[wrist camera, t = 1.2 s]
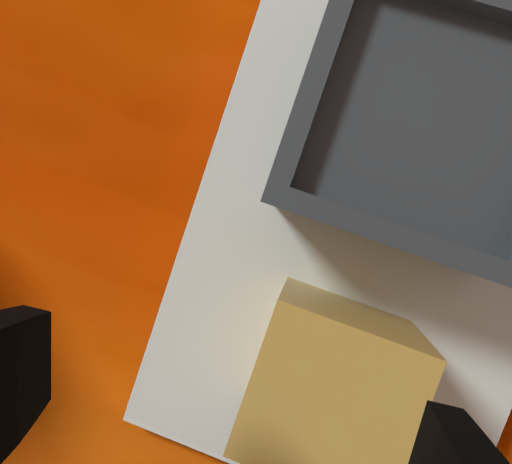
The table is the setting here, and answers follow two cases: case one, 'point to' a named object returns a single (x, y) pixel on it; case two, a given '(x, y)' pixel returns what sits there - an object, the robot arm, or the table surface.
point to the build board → (294, 269)
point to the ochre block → (334, 384)
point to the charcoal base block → (407, 130)
